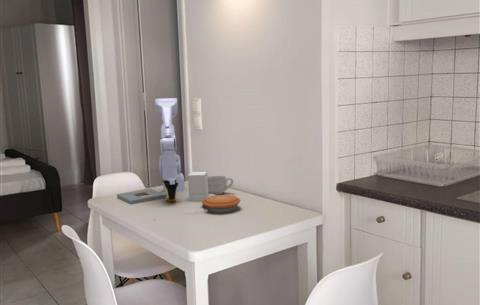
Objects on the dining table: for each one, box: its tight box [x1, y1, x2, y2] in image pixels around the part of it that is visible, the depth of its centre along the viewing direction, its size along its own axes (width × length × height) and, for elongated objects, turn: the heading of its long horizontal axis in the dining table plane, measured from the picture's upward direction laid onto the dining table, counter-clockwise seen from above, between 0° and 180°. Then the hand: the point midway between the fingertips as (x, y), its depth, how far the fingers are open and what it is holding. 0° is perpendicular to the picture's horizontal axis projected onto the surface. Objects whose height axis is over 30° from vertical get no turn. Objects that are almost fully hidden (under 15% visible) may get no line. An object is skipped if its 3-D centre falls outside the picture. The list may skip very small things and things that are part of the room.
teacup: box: [207, 175, 234, 196], centre depth 220 cm, size 14×11×8 cm
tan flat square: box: [160, 198, 184, 205], centre depth 204 cm, size 7×7×2 cm
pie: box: [201, 194, 241, 214], centre depth 194 cm, size 15×16×5 cm
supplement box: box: [187, 171, 210, 202], centre depth 206 cm, size 7×7×13 cm
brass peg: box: [165, 188, 177, 203], centre depth 203 cm, size 4×4×6 cm
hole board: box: [116, 188, 167, 205], centre depth 212 cm, size 16×16×3 cm
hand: (171, 198), depth 203 cm, fingers closed on brass peg, 4 cm apart
